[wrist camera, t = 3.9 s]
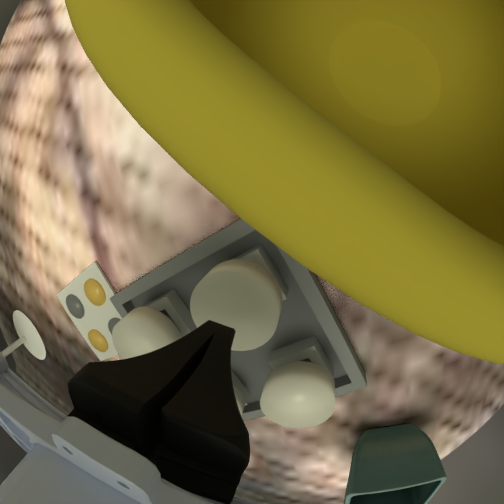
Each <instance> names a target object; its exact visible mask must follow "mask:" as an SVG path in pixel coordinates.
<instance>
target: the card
mask: <svg viewBox="0 0 504 504" xmlns="http://www.w3.org/2000/svg"><path fill="white" fill-rule="evenodd" d="M115 294H116V292H115V290H114V289H113V287H112V285H111V284H110V282H109V281H108V279H107V277H106V276H105V274H104V272H103V271H102V269H101V267H100V266H99V264H98V262H97V261H95V262H94V263H93V264H91V265H90V266H89V267H88V268H87V269H85V270H84V271H83V272H82V273H81V274H80V275H78V276H77V277H76V278H75V279H74V280H73V281H72V282H70V283H69V284H68V285H67V286H66V287H65V288H64V289H63V290H61V291H60V292H59V293H58V294H57V297H58V298H59V300H60V302H61V303H62V305H63V307H64V308H65V310H66V312H67V313H68V315H69V316H70V318H71V319H72V321H73V323H74V324H75V326H76V327H77V329H78V330H79V332H80V333H81V334H82V336H83V337H84V339H85V340H86V342H87V343H88V344H89V346H90V347H91V349H92V350H93V351H94V353H95V354H96V355H97V357H98V358H99V359H100V361H102V360H105V359H108V358H111V357H113V356H116V355H118V353H117V351H116V349H115V347H114V344H113V341H112V331H113V328H114V326H115V325H116V324H117V323H118V322H119V321H120V320H121V319H122V317H121V316H120V314H119V313H118V311H117V310H116V308H115V307H114V305H113V304H112V302H111V301H110V299H109V298H111V297H112V296H114V295H115Z"/></svg>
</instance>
